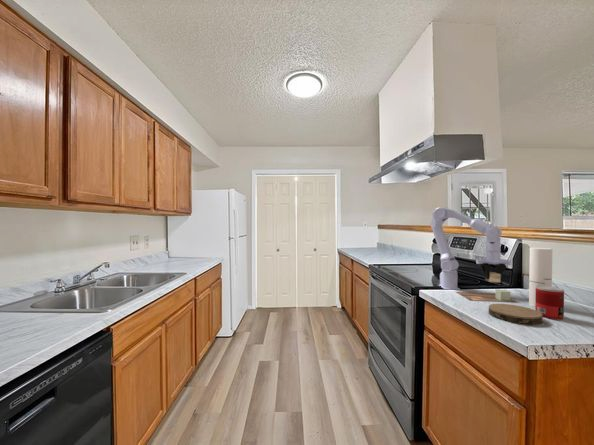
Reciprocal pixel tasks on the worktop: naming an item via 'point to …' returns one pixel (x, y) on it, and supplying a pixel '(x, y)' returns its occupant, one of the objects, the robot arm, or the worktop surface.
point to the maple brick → (493, 277)
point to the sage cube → (502, 295)
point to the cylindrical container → (539, 271)
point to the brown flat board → (482, 297)
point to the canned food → (550, 302)
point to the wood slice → (515, 314)
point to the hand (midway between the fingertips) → (492, 279)
